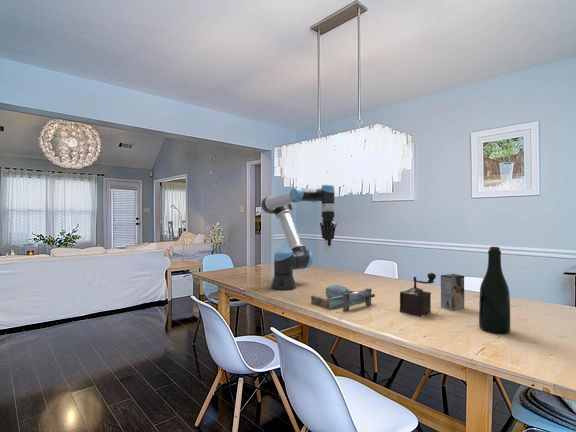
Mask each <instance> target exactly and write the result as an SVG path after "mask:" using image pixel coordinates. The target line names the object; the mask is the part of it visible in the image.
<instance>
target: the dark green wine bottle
mask: <svg viewBox="0 0 576 432" xmlns="http://www.w3.org/2000/svg"><path fill="white" fill-rule="evenodd" d="M487 255H488V257H487V259H488V261H487V269H486V272H485V275H484V277H483V278H482V281H481V284H480V288H479V300H478V301H479V304H478V306H479V307H478V309H479V310H478V326H479V328H480V330H483V331H484V332H488V333H491V334H497V335H506V334H509V333H510V332H511V295H510V289H509V285H508V283H507V280H506V278H505V275H504V273H503V268H502V250H501V249H500V247H499V246H489V249H488V251H487Z"/></svg>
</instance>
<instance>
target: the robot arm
mask: <svg viewBox="0 0 576 432" xmlns="http://www.w3.org/2000/svg"><path fill="white" fill-rule="evenodd" d="M335 192H336V191H335V185H334V184H329V183H328V184H322V185H321V187H320V188H303V187H293V188H291V190H290V191H287V192H284V193H280V194H276V195H275V196H272V195H269V196H267V197H264V198H262V200H261V203H260V207H261V209H262V210H263V212H264V213H266V214H273V215H275V217H276V219H278V220H279V223H280V225H281V229H282V230H283V234H284V236H285V239H286V242H287V244H288V247H289V249H281V250H277V251H275V253H274V256H273V260H274V263H273V266H274V267H273V269H274V270H273V273H274V274H273V278H272V281H271V286H270V287H271V289H272V290H277V291H291V290H294V289H296V282H295V278H294V275H293V274H294V272H293V271H294V270H301V269H302V270H304V269H308V268H310V267H311V266H312V263H313V261H314V259H313V257H314V255H313V253H312V251H310V250H309V249H307V248H306V245H304V244H303V243H302V241H301V239H300V236H299V233H298V229H297V227H296V224H295V223H294V220H293V218H292V217H293V216H292V213H293V210H294V207H293V206H294V203H300V202H312V203H317V202H321V218H322V221H321V222H319V226H320V232H321V238H322V239H324V248H325V249H324V250H325V252H331V250H332V249H331V248H332V247H331V246H332V240H334V239H335V233H336V227H337V225H338V223H337V222H335V221H334V218H335Z"/></svg>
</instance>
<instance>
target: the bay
mask: <svg viewBox="0 0 576 432" xmlns="http://www.w3.org/2000/svg"><path fill="white" fill-rule="evenodd" d="M348 290H349V289H348ZM349 292H350V293H353V292H355V291H354V290H349ZM310 298H311V304H313V305H317V306H319V307H323V308H325V309H329V310H333V309H337V308H343V296H338V297H333V298H329V299H325V298H323V297H320V296H316V295H311V297H310ZM363 302H365V298H361V299H357V300H352V301H349V306H350V305H354V304H359V303H363Z"/></svg>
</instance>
